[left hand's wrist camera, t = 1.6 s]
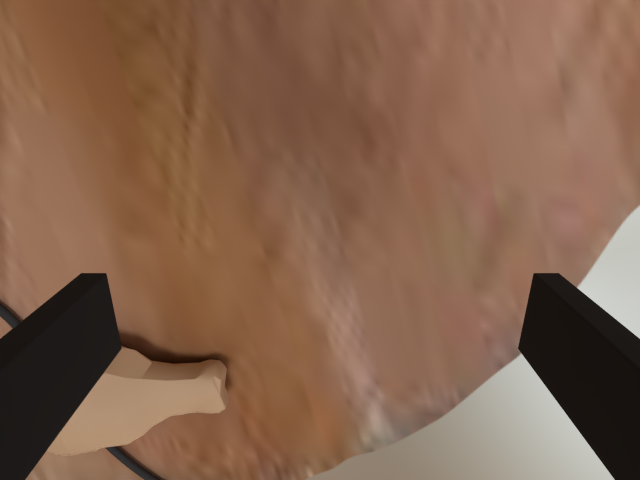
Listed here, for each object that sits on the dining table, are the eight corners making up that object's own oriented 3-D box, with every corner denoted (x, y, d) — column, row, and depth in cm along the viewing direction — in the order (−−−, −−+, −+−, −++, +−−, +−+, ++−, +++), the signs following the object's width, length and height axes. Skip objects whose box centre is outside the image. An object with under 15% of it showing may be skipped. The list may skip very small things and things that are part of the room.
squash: (39, 331, 44) (-17, 373, 36) (228, 319, 47) (220, 356, 38) (53, 422, 46) (4, 482, 38) (233, 406, 49) (227, 459, 40)
